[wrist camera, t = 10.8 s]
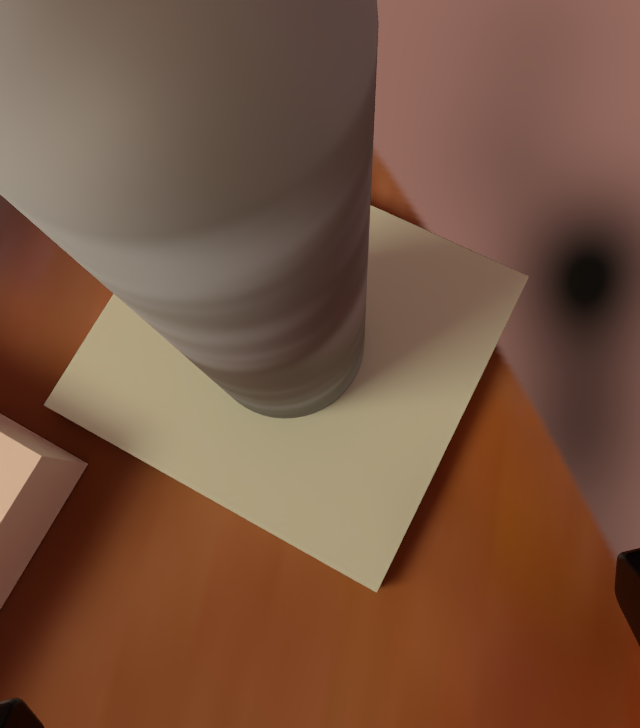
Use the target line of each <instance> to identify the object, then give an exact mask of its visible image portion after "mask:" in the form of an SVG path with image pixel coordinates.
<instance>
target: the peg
mask: <svg viewBox="0 0 640 728" xmlns="http://www.w3.org/2000/svg"><path fill="white" fill-rule="evenodd" d="M377 45H378V12H377V0H0V194H1V195H2V196H3V197H4V198H5V199H6V200H7V201H9V202H10V203H11V204H12V205H13V206H14V207H15V208H16V209H18V210H19V211H20V212H21V213H22V214H23V215H24V216H26V217H27V218H28V219H29V220H30V221H31V222H32V223H34V224H35V225H36V226H37V227H38V228H39V229H40V230H42V231H43V232H44V233H45V234H46V235H47V236H48V237H50V238H51V239H52V240H53V241H54V242H55V243H56V244H58V245H59V246H60V247H61V248H62V249H63V250H64V251H66V252H67V253H68V254H69V255H70V256H71V257H72V258H74V259H75V260H76V261H77V262H78V263H79V264H80V265H82V266H83V267H84V268H85V269H86V270H87V271H88V272H90V273H91V274H92V275H93V276H94V277H95V278H96V279H97V280H99V281H100V282H101V283H102V284H103V285H104V286H105V287H107V288H108V289H109V290H110V291H111V292H112V293H113V294H115V295H116V296H117V297H118V298H119V299H120V300H121V301H123V302H124V303H125V304H126V305H127V306H128V307H129V308H131V309H132V310H133V311H134V312H135V313H136V314H137V315H139V316H140V317H141V318H142V319H143V320H144V321H145V322H147V323H148V324H149V325H150V326H151V327H152V328H153V329H155V330H156V331H157V332H158V333H159V334H160V335H161V336H163V337H164V338H165V339H166V340H167V341H168V342H169V343H170V344H172V345H173V346H174V347H175V348H176V349H177V350H178V351H180V352H181V353H182V354H183V355H184V356H185V357H186V358H188V359H189V360H190V361H191V362H192V363H193V364H194V365H196V366H197V367H198V368H199V369H200V370H201V371H202V372H204V373H205V374H206V375H207V376H208V377H209V378H210V379H212V380H213V381H214V382H215V383H216V384H217V385H218V386H220V387H221V388H222V389H223V390H224V391H225V392H226V393H228V394H229V395H230V396H231V397H232V398H233V399H234V400H236V401H237V402H238V403H239V404H241V405H242V406H244V407H245V408H247V409H249V410H251V411H253V412H255V413H258V414H261V415H263V416H268V417H272V418H283V419H285V418H297V417H303V416H307V415H310V414H313V413H316V412H318V411H320V410H322V409H324V408H326V407H327V406H329V405H330V404H332V403H333V402H334V401H336V400H337V399H338V398H339V397H340V396H341V395H342V394H343V393H344V392H345V391H346V390H347V389H348V387H349V386H350V385H351V383H352V382H353V380H354V378H355V376H356V374H357V373H358V370H359V367H360V365H361V362H362V357H363V353H364V339H365V316H366V293H367V271H368V248H369V226H370V203H371V180H372V158H373V134H374V112H375V90H376V68H377V67H376V66H377Z"/></svg>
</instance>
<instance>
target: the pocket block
mask: <svg viewBox="0 0 640 728" xmlns="http://www.w3.org/2000/svg"><path fill="white" fill-rule="evenodd" d="M87 465H88V463H86V462H84V461H82V460H81V459H79V458H77V457H75V456H74V455H72V454H70V453H68V452H67V451H65V450H63V449H61V448H60V447H58V446H56V445H54V444H53V443H51V442H49V441H47V440H46V439H44V438H42V437H40V436H39V435H37V434H35V433H34V432H32V431H30V430H28V429H27V428H25V427H23V426H21V425H20V424H18V423H16V422H14V421H13V420H11V419H9V418H7V417H6V416H4V415H2V414H0V610H1V608H2V606H3V605H4V603H5V601H6V600H7V598H8V596H9V595H10V593H11V591H12V590H13V588H14V586H15V585H16V583H17V581H18V580H19V578H20V576H21V575H22V573H23V571H24V570H25V568H26V566H27V565H28V563H29V561H30V560H31V558H32V556H33V555H34V553H35V551H36V550H37V548H38V547H39V545H40V543H41V542H42V540H43V538H44V537H45V535H46V533H47V532H48V530H49V528H50V527H51V525H52V523H53V522H54V520H55V518H56V517H57V515H58V513H59V512H60V510H61V508H62V507H63V505H64V503H65V502H66V500H67V498H68V497H69V495H70V493H71V492H72V490H73V488H74V487H75V485H76V483H77V482H78V480H79V478H80V477H81V475H82V473H83V472H84V470H85V468H86V467H87Z"/></svg>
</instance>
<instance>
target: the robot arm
mask: <svg viewBox="0 0 640 728" xmlns="http://www.w3.org/2000/svg"><path fill="white" fill-rule="evenodd" d="M615 594H616V598H617V601H618V603H619V605H620V608H621V610H622V612H623V614H624V616H625V618H626V620H627V622H628V624H629V626H630V628H631V630H632V632H633V634H634V636H635V638H636V640H637V642H638V644H639V646H640V548H638V549H634V550H630V551H625V552H622V553H620V554H619V555H618V557H617V565H616V577H615ZM0 728H44V726H43V724H42V723H41V722H40V720H39V719H38V718H37V717H36V715H35V714H34V713H33V712H32V711H31V709H30V708H29V707H28V706H27V704H26V703H25V702H24V701H23V700H22V699H19V698H12V699H8V700H4V701H0Z"/></svg>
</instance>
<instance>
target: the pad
mask: <svg viewBox="0 0 640 728" xmlns="http://www.w3.org/2000/svg"><path fill="white" fill-rule="evenodd" d="M528 278H529V276H527V275H525V274H523V273H520V272H518V271H516V270H514V269H512V268H509V267H507V266H505V265H503V264H501V263H498V262H496V261H494V260H492V259H489V258H487V257H485V256H483V255H481V254H478V253H476V252H474V251H472V250H469V249H467V248H465V247H463V246H460V245H458V244H456V243H454V242H452V241H449V240H447V239H445V238H443V237H441V236H438V235H436V234H434V233H432V232H429V231H427V230H425V229H423V228H421V227H418V226H416V225H414V224H412V223H409V222H407V221H405V220H403V219H401V218H398V217H396V216H394V215H392V214H389V213H387V212H385V211H383V210H381V209H378V208H376V207H374V206H372V205H370V226H369V248H368V271H367V293H366V316H365V339H364V353H363V357H362V362H361V365H360V367H359V370H358V373H357V374H356V376H355V378H354V380H353V382H352V383H351V385H350V386H349V387H348V389H347V390H346V391H345V392H344V393H343V394H342V395H341V396H340V397H339V398H338V399H337V400H336V401H334V402H333V403H332V404H330V405H329V406H327V407H326V408H324V409H322V410H320V411H318V412H316V413H313V414H310V415H307V416H303V417H297V418H285V419H283V418H272V417H268V416H263V415H261V414H258V413H255V412H253V411H251V410H249V409H247V408H245V407H244V406H242V405H241V404H239V403H238V402H237V401H236V400H234V399H233V398H232V397H231V396H230V395H229V394H228V393H226V392H225V391H224V390H223V389H222V388H221V387H220V386H218V385H217V384H216V383H215V382H214V381H213V380H212V379H210V378H209V377H208V376H207V375H206V374H205V373H204V372H202V371H201V370H200V369H199V368H198V367H197V366H196V365H194V364H193V363H192V362H191V361H190V360H189V359H188V358H186V357H185V356H184V355H183V354H182V353H181V352H180V351H178V350H177V349H176V348H175V347H174V346H173V345H172V344H170V343H169V342H168V341H167V340H166V339H165V338H164V337H163V336H161V335H160V334H159V333H158V332H157V331H156V330H155V329H153V328H152V327H151V326H150V325H149V324H148V323H147V322H145V321H144V320H143V319H142V318H141V317H140V316H139V315H137V314H136V313H135V312H134V311H133V310H132V309H131V308H129V307H128V306H127V305H126V304H125V303H124V302H123V301H121V300H120V299H119V298H118V297H117V296H116V295H115V294H113V296H112V297H111V299H110V300H109V302H108V304H107V305H106V307H105V308H104V310H103V312H102V313H101V315H100V316H99V318H98V319H97V321H96V323H95V324H94V326H93V327H92V329H91V331H90V332H89V334H88V335H87V337H86V338H85V340H84V342H83V343H82V345H81V346H80V348H79V350H78V351H77V353H76V354H75V356H74V357H73V359H72V361H71V362H70V364H69V365H68V367H67V369H66V370H65V372H64V373H63V375H62V377H61V378H60V380H59V381H58V383H57V384H56V386H55V388H54V389H53V391H52V392H51V394H50V396H49V397H48V399H47V400H46V402H45V403H44V406H46V407H48V408H49V409H51V410H53V411H55V412H56V413H58V414H60V415H62V416H63V417H65V418H67V419H69V420H71V421H72V422H74V423H76V424H78V425H79V426H81V427H83V428H85V429H87V430H88V431H90V432H92V433H94V434H95V435H97V436H99V437H101V438H103V439H104V440H106V441H108V442H110V443H111V444H113V445H115V446H117V447H119V448H120V449H122V450H124V451H126V452H127V453H129V454H131V455H133V456H135V457H136V458H138V459H140V460H142V461H143V462H145V463H147V464H149V465H151V466H152V467H154V468H156V469H158V470H159V471H161V472H163V473H165V474H167V475H168V476H170V477H172V478H174V479H175V480H177V481H179V482H181V483H183V484H184V485H186V486H188V487H190V488H191V489H193V490H195V491H197V492H199V493H200V494H202V495H204V496H206V497H207V498H209V499H211V500H213V501H215V502H216V503H218V504H220V505H222V506H223V507H225V508H227V509H229V510H231V511H232V512H234V513H236V514H238V515H239V516H241V517H243V518H245V519H247V520H248V521H250V522H252V523H254V524H255V525H257V526H259V527H261V528H263V529H264V530H266V531H268V532H270V533H271V534H273V535H275V536H277V537H279V538H280V539H282V540H284V541H286V542H287V543H289V544H291V545H293V546H295V547H296V548H298V549H300V550H302V551H303V552H305V553H307V554H309V555H311V556H312V557H314V558H316V559H318V560H319V561H321V562H323V563H325V564H327V565H328V566H330V567H332V568H334V569H335V570H337V571H339V572H341V573H343V574H344V575H346V576H348V577H350V578H351V579H353V580H355V581H357V582H359V583H360V584H362V585H364V586H366V587H367V588H369V589H371V590H373V591H375V592H376V593H377V591H378V589H379V587H380V585H381V583H382V581H383V579H384V577H385V575H386V573H387V571H388V569H389V567H390V564H391V562H392V560H393V558H394V556H395V554H396V552H397V550H398V548H399V546H400V544H401V542H402V540H403V537H404V535H405V533H406V531H407V529H408V527H409V525H410V523H411V521H412V519H413V517H414V515H415V513H416V511H417V508H418V506H419V504H420V502H421V500H422V498H423V496H424V494H425V492H426V490H427V488H428V486H429V484H430V481H431V479H432V477H433V475H434V473H435V471H436V469H437V467H438V465H439V463H440V461H441V459H442V457H443V455H444V452H445V450H446V448H447V446H448V444H449V442H450V440H451V438H452V436H453V434H454V432H455V430H456V428H457V426H458V423H459V421H460V419H461V417H462V415H463V413H464V411H465V409H466V407H467V405H468V403H469V401H470V399H471V396H472V394H473V392H474V390H475V388H476V386H477V384H478V382H479V380H480V378H481V376H482V374H483V372H484V370H485V367H486V365H487V363H488V361H489V359H490V357H491V355H492V353H493V351H494V349H495V347H496V345H497V343H498V340H499V338H500V336H501V334H502V332H503V330H504V328H505V326H506V324H507V322H508V320H509V318H510V315H511V313H512V311H513V309H514V307H515V305H516V303H517V301H518V299H519V297H520V295H521V293H522V291H523V289H524V287H525V284H526V282H527V280H528Z"/></svg>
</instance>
